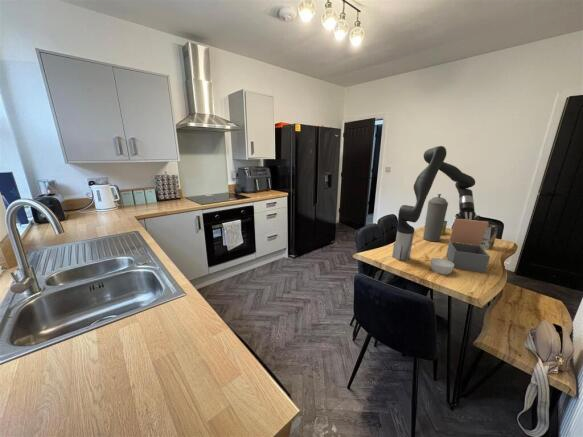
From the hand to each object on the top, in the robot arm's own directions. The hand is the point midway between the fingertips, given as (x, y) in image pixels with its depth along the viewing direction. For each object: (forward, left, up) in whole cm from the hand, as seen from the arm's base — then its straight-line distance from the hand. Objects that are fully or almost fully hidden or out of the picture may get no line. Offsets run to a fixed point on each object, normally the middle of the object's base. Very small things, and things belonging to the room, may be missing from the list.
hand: (468, 228), depth 141 cm
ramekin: (-26, -7, -20) cm, 33 cm away
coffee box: (+35, +10, -20) cm, 42 cm away
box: (-5, -5, -20) cm, 21 cm away
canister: (+11, +33, -20) cm, 40 cm away
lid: (-1, -1, -2) cm, 2 cm away
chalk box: (+27, +43, -20) cm, 55 cm away
